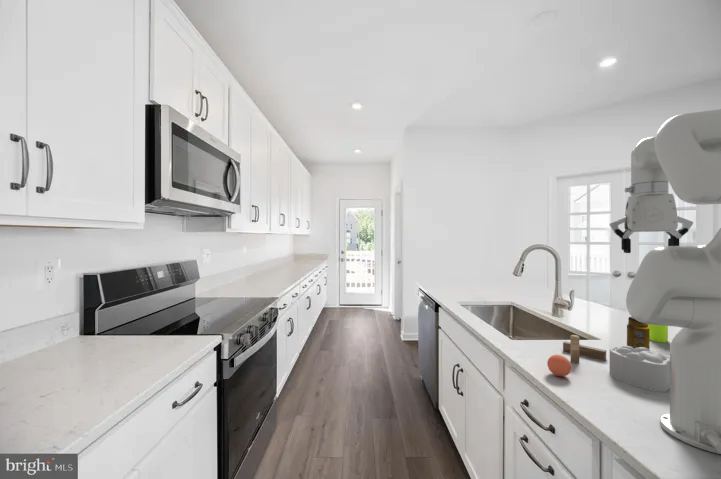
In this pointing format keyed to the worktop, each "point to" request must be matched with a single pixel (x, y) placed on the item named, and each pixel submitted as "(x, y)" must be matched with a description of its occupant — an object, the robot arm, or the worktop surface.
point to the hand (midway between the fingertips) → (649, 253)
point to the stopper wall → (587, 351)
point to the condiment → (637, 334)
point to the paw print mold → (640, 367)
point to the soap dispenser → (658, 333)
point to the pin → (574, 349)
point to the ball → (559, 365)
